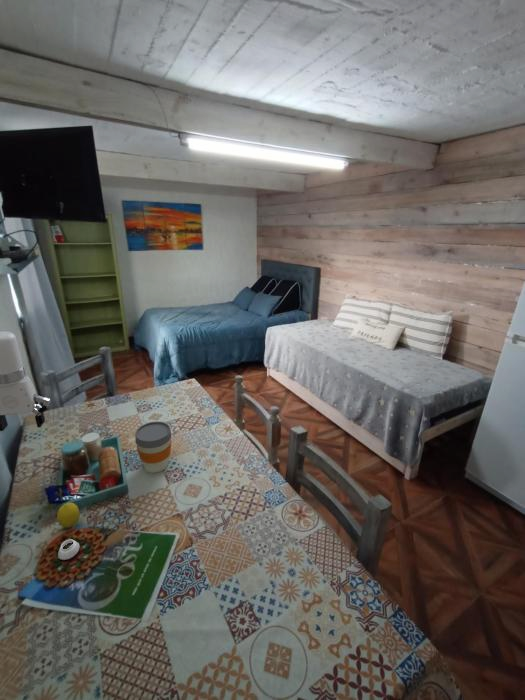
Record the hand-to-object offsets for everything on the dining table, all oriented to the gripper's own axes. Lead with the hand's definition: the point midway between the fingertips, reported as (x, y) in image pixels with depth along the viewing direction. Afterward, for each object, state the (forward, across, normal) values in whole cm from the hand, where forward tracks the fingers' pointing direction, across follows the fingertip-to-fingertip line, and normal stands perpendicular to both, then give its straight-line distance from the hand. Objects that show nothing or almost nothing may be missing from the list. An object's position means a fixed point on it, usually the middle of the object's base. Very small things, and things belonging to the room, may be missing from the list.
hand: (22, 426), depth 95 cm
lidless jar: (+26, +15, -24) cm, 39 cm away
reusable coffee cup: (+26, +36, +7) cm, 45 cm away
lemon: (+26, +13, -15) cm, 33 cm away
